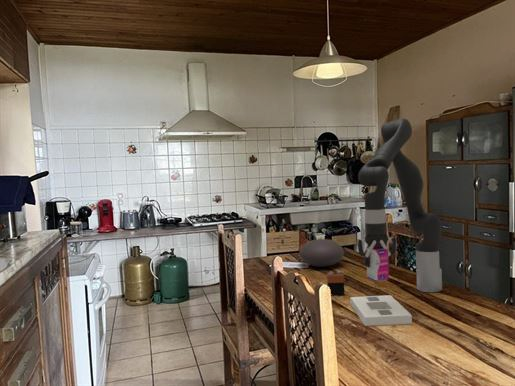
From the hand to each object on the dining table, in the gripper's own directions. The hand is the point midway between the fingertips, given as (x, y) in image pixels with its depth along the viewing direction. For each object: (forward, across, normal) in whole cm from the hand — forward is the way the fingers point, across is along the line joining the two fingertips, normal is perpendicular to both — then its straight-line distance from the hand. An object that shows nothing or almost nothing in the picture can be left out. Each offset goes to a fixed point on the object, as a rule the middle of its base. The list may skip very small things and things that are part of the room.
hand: (377, 266), depth 145 cm
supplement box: (+5, 0, 0) cm, 5 cm away
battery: (+18, +11, -25) cm, 33 cm away
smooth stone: (+18, +9, -77) cm, 80 cm away
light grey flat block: (+18, 0, 0) cm, 18 cm away
